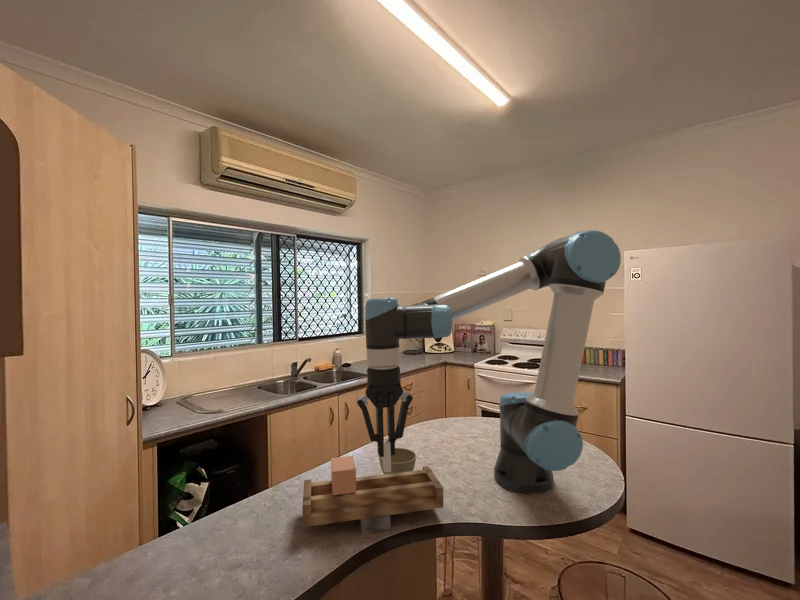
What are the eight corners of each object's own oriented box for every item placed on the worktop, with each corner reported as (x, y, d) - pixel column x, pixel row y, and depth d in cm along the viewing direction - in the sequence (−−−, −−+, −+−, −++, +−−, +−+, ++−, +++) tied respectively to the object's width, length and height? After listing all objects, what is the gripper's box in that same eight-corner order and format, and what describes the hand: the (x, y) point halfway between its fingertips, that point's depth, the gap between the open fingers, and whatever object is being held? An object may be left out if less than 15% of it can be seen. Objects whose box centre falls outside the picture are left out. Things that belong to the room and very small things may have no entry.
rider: (353, 487, 88) (352, 455, 88) (356, 503, 81) (355, 469, 81) (331, 490, 87) (331, 458, 87) (332, 506, 80) (332, 471, 80)
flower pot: (413, 492, 96) (412, 464, 96) (374, 489, 98) (374, 461, 98) (419, 474, 106) (418, 448, 106) (384, 471, 108) (383, 446, 108)
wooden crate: (428, 494, 95) (428, 464, 95) (444, 522, 83) (444, 488, 83) (304, 510, 88) (304, 478, 88) (303, 543, 77) (302, 506, 77)
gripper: (407, 361, 91) (410, 459, 91) (353, 365, 88) (356, 466, 89) (415, 366, 84) (419, 473, 84) (356, 371, 81) (360, 481, 81)
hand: (387, 469), depth 86 cm, fingers closed
